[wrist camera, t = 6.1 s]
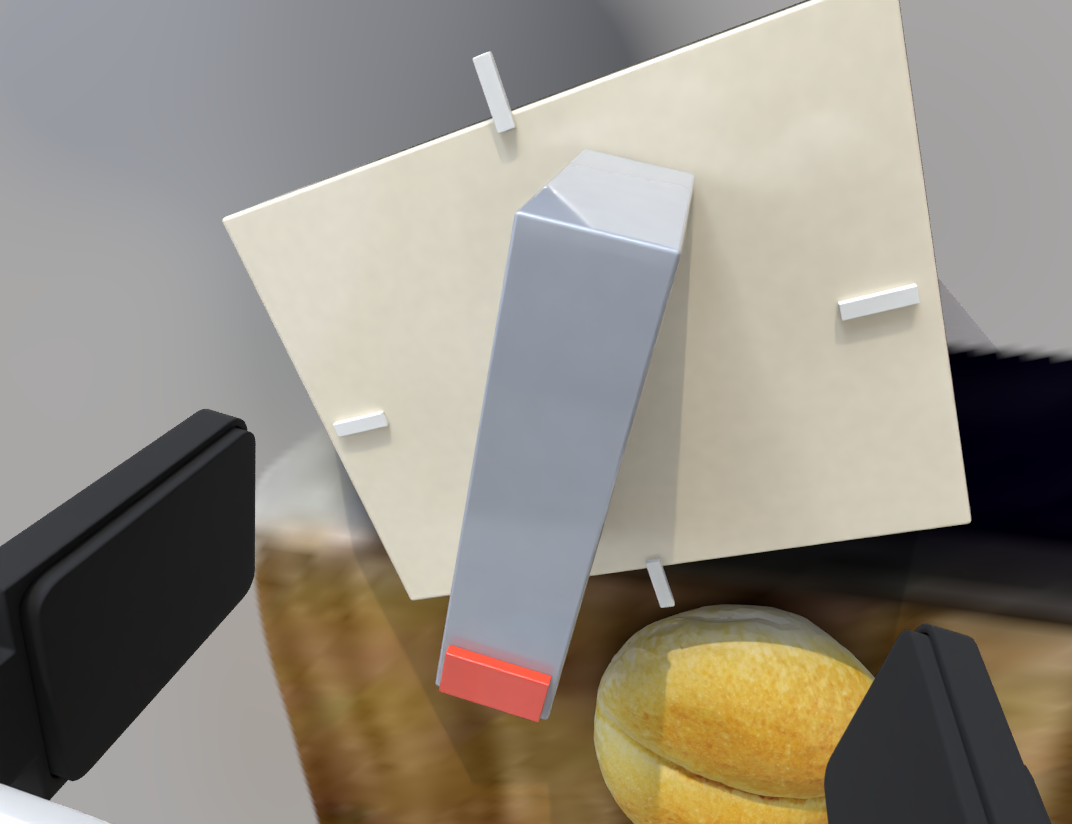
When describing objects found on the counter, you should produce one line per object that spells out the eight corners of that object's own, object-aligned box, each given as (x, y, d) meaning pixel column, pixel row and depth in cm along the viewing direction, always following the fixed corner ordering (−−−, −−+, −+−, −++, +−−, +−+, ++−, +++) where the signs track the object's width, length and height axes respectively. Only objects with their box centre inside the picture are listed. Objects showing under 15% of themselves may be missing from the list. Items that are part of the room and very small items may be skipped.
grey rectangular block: (583, 147, 14) (508, 213, 9) (696, 173, 14) (681, 256, 9) (507, 517, 19) (429, 696, 14) (592, 542, 19) (544, 734, 14)
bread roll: (919, 630, 21) (958, 749, 18) (814, 821, 26) (829, 946, 22) (632, 555, 22) (616, 654, 19) (578, 751, 27) (556, 861, 23)
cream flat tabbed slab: (856, -86, 14) (887, -110, 12) (944, 491, 19) (980, 569, 17) (267, 150, 19) (190, 172, 16) (457, 566, 24) (423, 636, 21)
